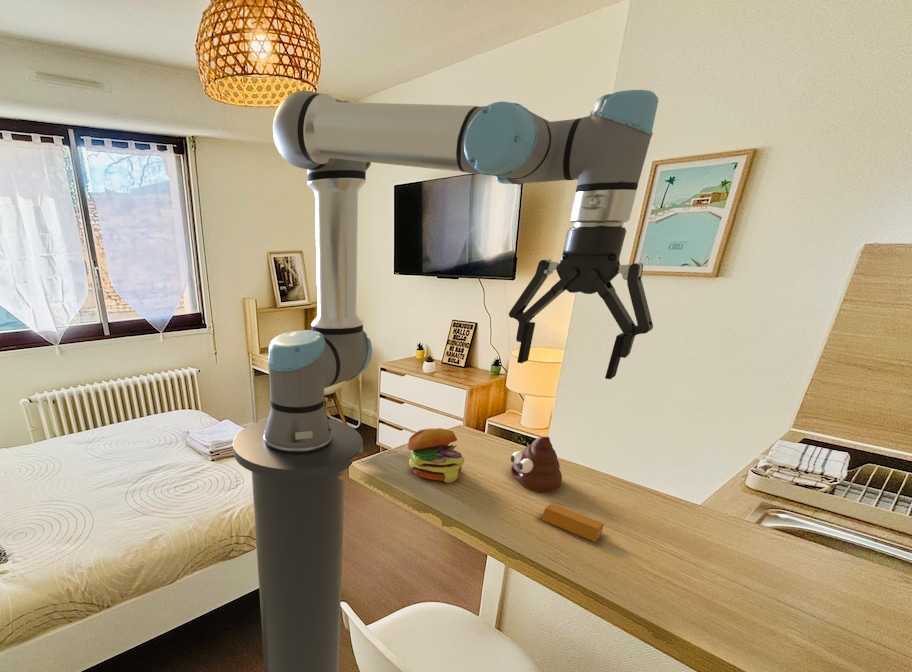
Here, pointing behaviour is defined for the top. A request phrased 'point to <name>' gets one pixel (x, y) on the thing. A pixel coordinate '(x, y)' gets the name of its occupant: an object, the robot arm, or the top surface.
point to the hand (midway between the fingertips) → (563, 369)
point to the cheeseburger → (435, 455)
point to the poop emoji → (537, 466)
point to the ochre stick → (573, 522)
